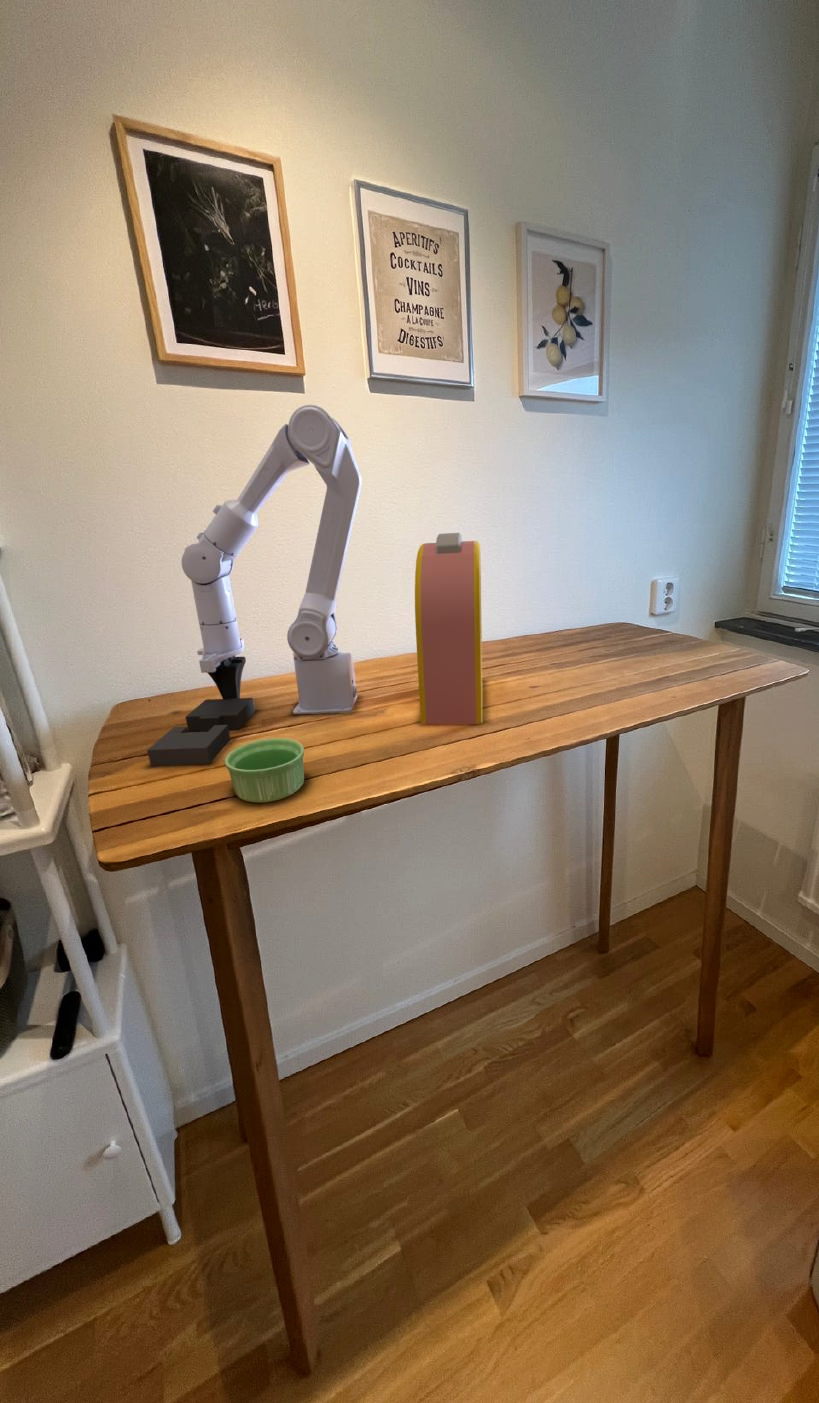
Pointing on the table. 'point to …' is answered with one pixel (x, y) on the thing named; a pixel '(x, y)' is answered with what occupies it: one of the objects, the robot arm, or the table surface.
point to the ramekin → (266, 769)
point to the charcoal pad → (188, 746)
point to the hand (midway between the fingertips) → (232, 702)
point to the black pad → (220, 714)
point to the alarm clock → (449, 630)
